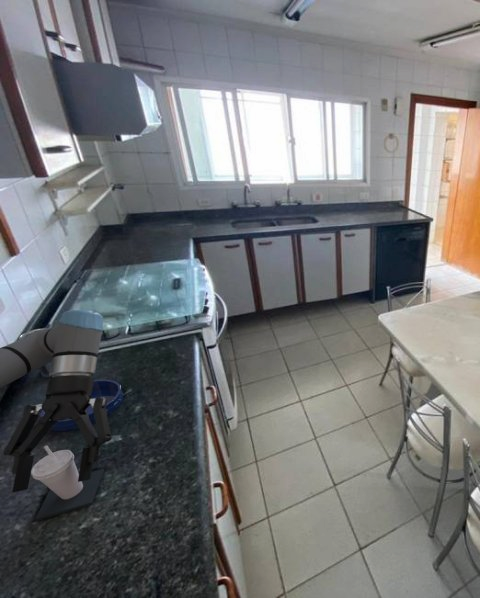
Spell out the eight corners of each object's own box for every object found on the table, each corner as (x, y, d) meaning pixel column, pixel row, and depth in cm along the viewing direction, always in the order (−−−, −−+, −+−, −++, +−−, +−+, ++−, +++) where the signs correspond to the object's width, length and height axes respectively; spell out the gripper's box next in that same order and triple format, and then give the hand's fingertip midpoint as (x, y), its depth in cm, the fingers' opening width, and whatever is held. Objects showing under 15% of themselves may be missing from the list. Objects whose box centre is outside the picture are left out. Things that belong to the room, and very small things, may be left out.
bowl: (32, 438, 85) (26, 429, 84) (59, 396, 99) (55, 387, 98) (115, 420, 93) (111, 411, 91) (129, 383, 106) (126, 374, 105)
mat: (36, 521, 68) (34, 519, 68) (54, 484, 75) (53, 481, 75) (92, 504, 72) (91, 502, 71) (104, 470, 79) (103, 468, 79)
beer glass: (39, 381, 104) (16, 342, 98) (41, 370, 109) (19, 332, 102) (68, 373, 108) (48, 334, 102) (70, 363, 113) (50, 325, 106)
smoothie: (96, 486, 74) (68, 444, 68) (58, 511, 69) (25, 468, 63) (83, 472, 77) (56, 430, 71) (47, 495, 72) (14, 453, 66)
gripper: (138, 373, 81) (126, 472, 74) (23, 384, 75) (-2, 493, 68) (122, 369, 75) (107, 477, 67) (-6, 380, 69) (-37, 501, 61)
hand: (52, 485), depth 68 cm, fingers open, 10 cm apart
